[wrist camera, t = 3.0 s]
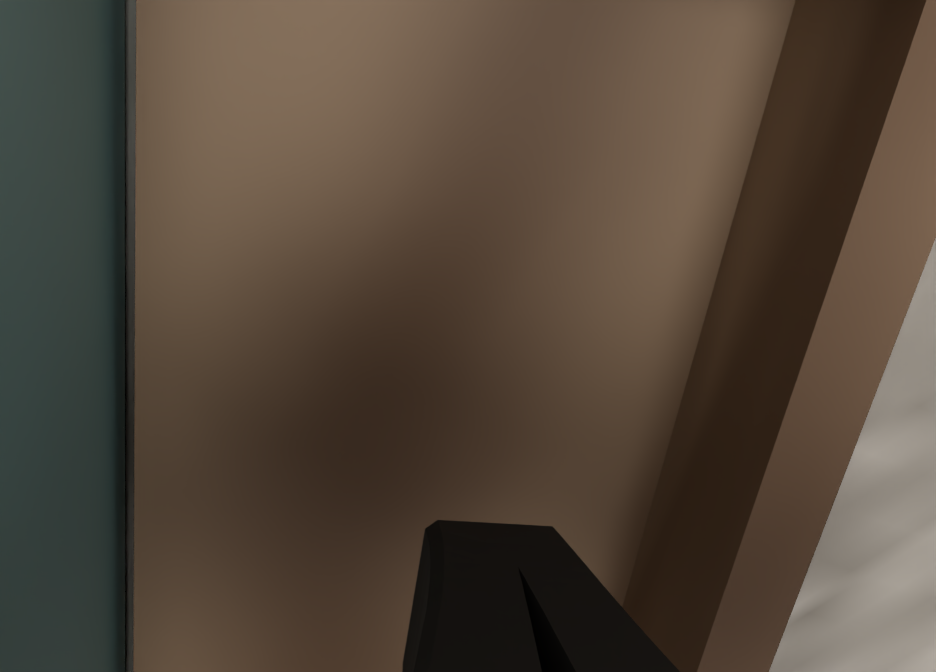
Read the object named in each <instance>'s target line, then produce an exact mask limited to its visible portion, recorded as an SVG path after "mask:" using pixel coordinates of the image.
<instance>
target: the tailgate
mask: <svg viewBox="0 0 936 672" xmlns="http://www.w3.org/2000/svg"><path fill="white" fill-rule="evenodd" d="M0 672H125V0H0Z"/></svg>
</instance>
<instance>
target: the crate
mask: <svg viewBox="0 0 936 672" xmlns="http://www.w3.org/2000/svg"><path fill="white" fill-rule="evenodd" d="M935 238H936V0H136V165H135V408H134V650H133V672H403V658H404V652H405V646H406V640H407V634H408V628H409V622H410V616H411V610H412V604H413V598H414V592H415V586H416V580H417V574H418V568H419V562H420V556H421V550H422V544H423V538H424V532H425V528H427V527H428V526H430V525H431V524H432V523H434V522H435V521H437V520H450V521H468V522H486V523H504V524H522V525H539V526H553V527H554V528H555V530H556V531H557V532H558V533H559V534H560V535H561V536H562V537H563V539H564V540H565V541H566V542H567V543H568V544H569V546H570V547H571V548H572V549H573V550H574V551H575V553H576V554H577V555H578V556H579V557H580V558H581V560H582V561H583V562H584V563H585V564H586V566H587V567H588V568H589V569H590V570H591V571H592V573H593V574H594V575H595V576H596V577H597V578H598V580H599V581H600V582H601V583H602V584H603V586H604V587H605V588H606V589H607V590H608V591H609V592H610V594H611V595H612V596H613V597H614V598H615V599H616V601H617V602H618V603H619V604H620V605H621V606H622V608H623V609H624V610H625V611H626V612H627V613H628V614H629V616H630V617H631V618H632V619H633V620H634V621H635V622H636V624H637V625H638V626H639V627H640V628H641V629H642V630H643V631H644V633H645V634H646V635H647V636H648V637H649V638H650V639H651V640H652V642H653V643H654V644H655V645H656V646H657V647H658V648H659V649H660V650H661V651H662V653H663V654H664V655H665V656H666V657H667V658H668V659H669V660H670V661H671V662H672V663H673V665H674V666H675V667H676V668H677V669H678V670H679V671H680V672H769V669H770V667H771V664H772V662H773V659H774V656H775V654H776V651H777V649H778V646H779V643H780V641H781V638H782V636H783V633H784V630H785V628H786V625H787V623H788V620H789V617H790V615H791V612H792V610H793V607H794V604H795V602H796V599H797V597H798V594H799V591H800V589H801V586H802V584H803V581H804V578H805V576H806V573H807V571H808V568H809V565H810V563H811V560H812V558H813V555H814V552H815V550H816V547H817V545H818V542H819V539H820V537H821V534H822V532H823V529H824V526H825V524H826V521H827V519H828V516H829V513H830V511H831V508H832V506H833V503H834V500H835V498H836V495H837V493H838V490H839V487H840V485H841V482H842V480H843V477H844V474H845V472H846V469H847V467H848V464H849V461H850V459H851V456H852V454H853V451H854V448H855V446H856V443H857V441H858V438H859V435H860V433H861V430H862V428H863V425H864V422H865V420H866V417H867V415H868V412H869V409H870V407H871V404H872V401H873V399H874V396H875V394H876V391H877V388H878V386H879V383H880V381H881V378H882V375H883V373H884V370H885V368H886V365H887V362H888V360H889V357H890V355H891V352H892V349H893V347H894V344H895V342H896V339H897V336H898V334H899V331H900V329H901V326H902V323H903V321H904V318H905V316H906V313H907V310H908V308H909V305H910V303H911V300H912V297H913V295H914V292H915V290H916V287H917V284H918V282H919V279H920V277H921V274H922V271H923V269H924V266H925V264H926V261H927V258H928V256H929V253H930V251H931V248H932V245H933V243H934V240H935Z"/></svg>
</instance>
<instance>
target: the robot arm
mask: <svg viewBox="0 0 936 672" xmlns="http://www.w3.org/2000/svg"><path fill="white" fill-rule="evenodd" d="M403 672H680V671H679V670H678V669H677V668H676V667H675V666H674V665H673V663H672V662H671V661H670V660H669V659H668V658H667V657H666V656H665V655H664V654H663V653H662V651H661V650H660V649H659V648H658V647H657V646H656V645H655V644H654V643H653V642H652V640H651V639H650V638H649V637H648V636H647V635H646V634H645V633H644V631H643V630H642V629H641V628H640V627H639V626H638V625H637V624H636V622H635V621H634V620H633V619H632V618H631V617H630V616H629V614H628V613H627V612H626V611H625V610H624V609H623V608H622V606H621V605H620V604H619V603H618V602H617V601H616V599H615V598H614V597H613V596H612V595H611V594H610V592H609V591H608V590H607V589H606V588H605V587H604V586H603V584H602V583H601V582H600V581H599V580H598V578H597V577H596V576H595V575H594V574H593V573H592V571H591V570H590V569H589V568H588V567H587V566H586V564H585V563H584V562H583V561H582V560H581V558H580V557H579V556H578V555H577V554H576V553H575V551H574V550H573V549H572V548H571V547H570V546H569V544H568V543H567V542H566V541H565V540H564V539H563V537H562V536H561V535H560V534H559V533H558V532H557V531H556V530H555V528H554V527H553V526H539V525H522V524H504V523H486V522H468V521H450V520H437V521H435V522H434V523H432V524H431V525H430V526H428V527H427V528H425V532H424V538H423V544H422V550H421V556H420V562H419V568H418V574H417V580H416V586H415V592H414V598H413V604H412V610H411V616H410V622H409V628H408V634H407V640H406V646H405V652H404V658H403Z"/></svg>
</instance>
